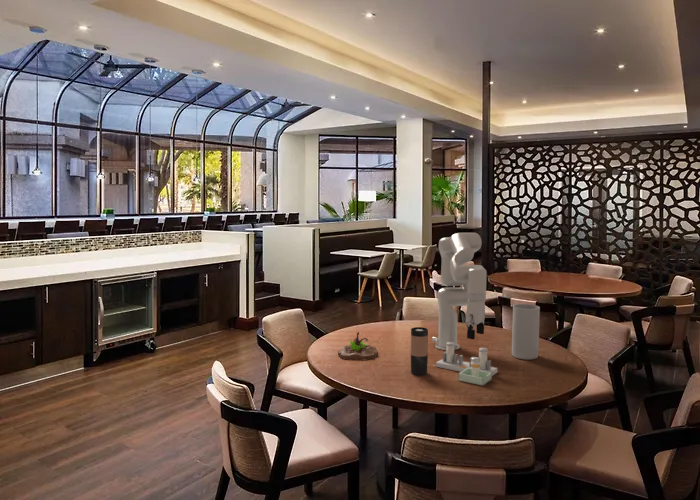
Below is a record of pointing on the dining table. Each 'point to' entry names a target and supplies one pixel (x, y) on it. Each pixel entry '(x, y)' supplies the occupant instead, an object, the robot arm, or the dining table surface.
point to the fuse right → (483, 358)
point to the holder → (462, 364)
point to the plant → (358, 350)
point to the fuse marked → (475, 366)
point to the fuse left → (449, 352)
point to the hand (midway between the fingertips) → (475, 336)
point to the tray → (481, 380)
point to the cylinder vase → (525, 331)
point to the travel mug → (419, 350)
